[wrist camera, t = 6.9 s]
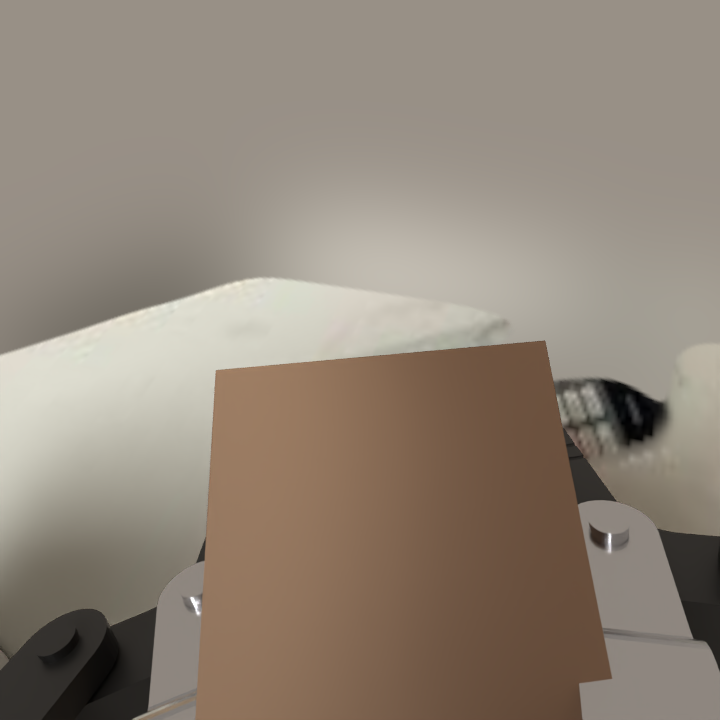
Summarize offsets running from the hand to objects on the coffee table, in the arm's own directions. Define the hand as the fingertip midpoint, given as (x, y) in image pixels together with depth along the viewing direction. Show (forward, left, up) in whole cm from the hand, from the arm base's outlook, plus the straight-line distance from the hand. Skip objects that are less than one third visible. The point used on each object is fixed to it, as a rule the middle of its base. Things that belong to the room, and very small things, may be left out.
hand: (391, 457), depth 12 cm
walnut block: (+1, -2, -5) cm, 5 cm away
